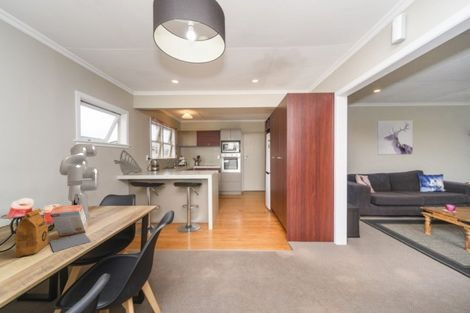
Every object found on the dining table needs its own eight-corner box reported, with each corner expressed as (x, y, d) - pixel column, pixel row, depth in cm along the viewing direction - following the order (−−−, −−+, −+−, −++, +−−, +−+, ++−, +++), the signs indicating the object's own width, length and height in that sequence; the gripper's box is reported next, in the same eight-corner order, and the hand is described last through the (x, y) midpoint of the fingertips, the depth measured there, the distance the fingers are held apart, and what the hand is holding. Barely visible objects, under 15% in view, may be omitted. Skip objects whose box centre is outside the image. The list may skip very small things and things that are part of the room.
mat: (49, 242, 108) (49, 241, 108) (84, 233, 120) (84, 232, 120) (53, 252, 96) (53, 251, 96) (90, 241, 109) (90, 240, 109)
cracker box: (88, 225, 126) (82, 204, 116) (85, 233, 121) (78, 211, 111) (63, 228, 120) (54, 206, 111) (58, 236, 116) (49, 213, 106)
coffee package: (52, 244, 105) (52, 207, 105) (36, 255, 93) (36, 213, 93) (29, 247, 102) (30, 208, 102) (10, 259, 90) (11, 215, 90)
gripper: (65, 182, 122) (65, 210, 122) (69, 185, 112) (69, 214, 112) (80, 181, 128) (79, 207, 127) (84, 183, 118) (84, 211, 118)
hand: (74, 210), depth 120 cm, fingers closed
